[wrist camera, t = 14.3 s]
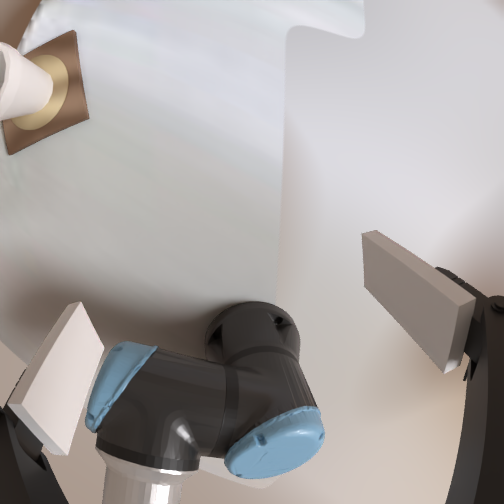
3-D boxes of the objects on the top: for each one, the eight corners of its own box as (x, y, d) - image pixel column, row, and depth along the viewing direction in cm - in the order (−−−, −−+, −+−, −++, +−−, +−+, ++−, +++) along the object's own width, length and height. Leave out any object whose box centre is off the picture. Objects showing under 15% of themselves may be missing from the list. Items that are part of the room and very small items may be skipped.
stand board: (89, 118, 34) (85, 118, 32) (13, 154, 33) (7, 155, 32) (76, 32, 29) (72, 29, 27) (1, 73, 28) (-4, 72, 27)
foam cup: (4, 122, 30) (-53, 125, 18) (19, 61, 27) (-34, 46, 15) (54, 126, 32) (-2, 127, 20) (70, 60, 29) (21, 37, 17)
